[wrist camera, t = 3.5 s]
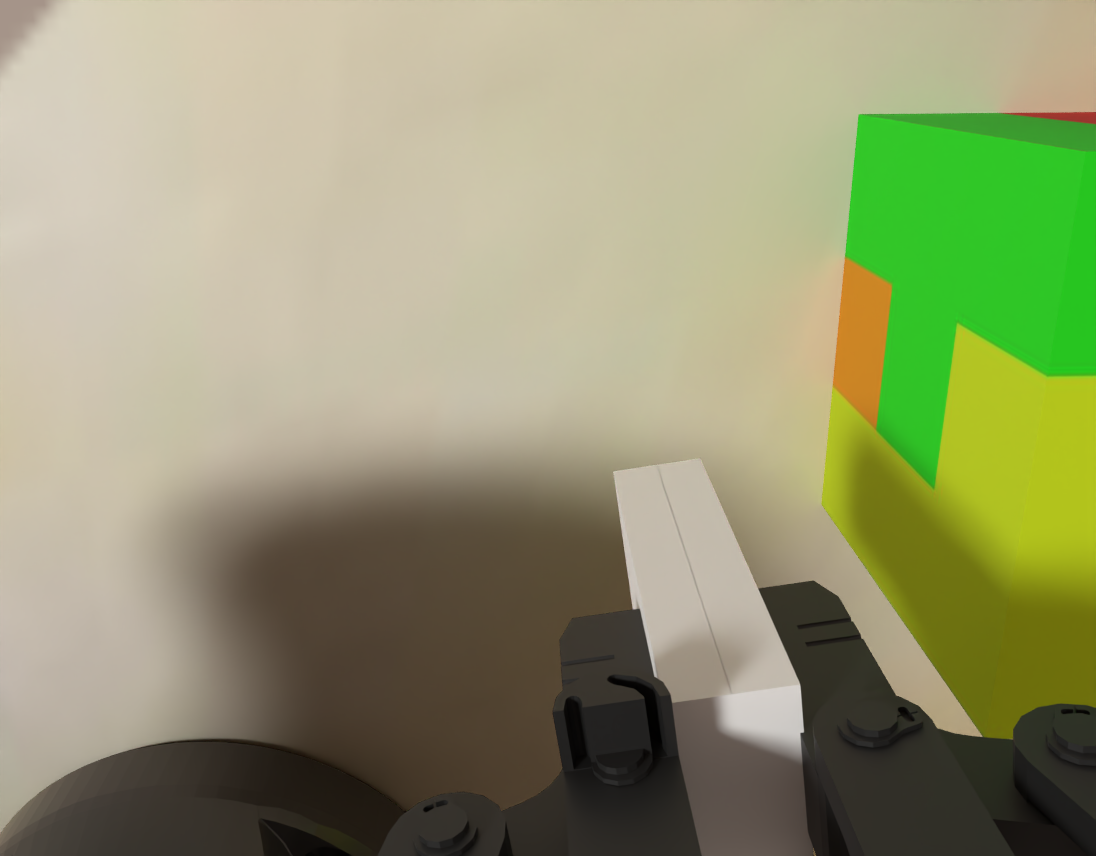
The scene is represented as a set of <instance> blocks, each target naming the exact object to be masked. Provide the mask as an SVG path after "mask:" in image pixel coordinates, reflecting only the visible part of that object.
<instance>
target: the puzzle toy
mask: <svg viewBox="0 0 1096 856" xmlns="http://www.w3.org/2000/svg"><path fill="white" fill-rule="evenodd" d="M822 506H823V507H824V509H825V510H826V512H827V513H828V515H829V516H830V517H831V519H832V520H833V522H834V523H835V525H836V526H837V527H838V529H839V530H840V532H841V533H842V535H843V536H844V538H845V539H846V540H847V542H848V543H849V545H850V546H851V548H852V549H853V550H854V552H855V553H856V555H857V556H858V558H859V559H860V561H861V562H862V563H863V565H864V566H865V568H866V569H867V571H868V572H869V574H870V575H871V576H872V578H873V579H874V581H875V582H876V584H877V585H878V586H879V588H880V589H881V591H882V592H883V594H884V595H885V597H886V598H887V599H888V601H889V602H890V604H891V605H892V607H893V608H894V609H895V611H896V612H897V614H898V615H899V617H900V618H901V620H902V621H903V622H904V624H905V625H906V627H907V628H908V630H909V631H910V633H911V634H912V635H913V637H914V638H915V640H916V641H917V643H918V644H919V645H920V647H921V648H922V650H923V651H924V653H925V654H926V656H927V657H928V658H929V660H930V661H931V663H932V664H933V666H934V667H935V669H936V670H937V671H938V673H939V674H940V676H941V677H942V679H943V680H944V681H945V683H946V684H947V686H948V687H949V689H950V690H951V692H952V693H953V694H954V696H955V697H956V699H957V700H958V702H959V703H960V704H961V706H962V707H963V709H964V710H965V712H966V713H967V715H968V716H969V717H970V719H971V720H972V722H973V723H974V725H975V726H976V728H977V729H978V730H979V732H980V733H981V735H982V736H983V737H988V738H1001V739H1013V729H1014V727H1015V725H1016V724H1017V722H1018V721H1019V719H1020V717H1021V716H1022V715H1024V714H1026V713H1028V712H1030V711H1032V710H1034V709H1035V708H1037V707H1042V706H1048V705H1054V704H1060V703H1062V704H1077V705H1088V706H1091V707H1095V708H1096V112H1074V113H960V114H859V117H858V128H857V138H856V149H855V159H854V169H853V180H852V190H851V201H850V211H849V222H848V232H847V243H846V253H845V264H844V274H843V285H842V295H841V305H840V316H839V326H838V337H837V347H836V358H835V368H834V379H833V389H832V400H831V410H830V420H829V431H828V441H827V452H826V462H825V473H824V483H823V494H822Z"/></svg>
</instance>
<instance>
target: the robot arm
mask: <svg viewBox="0 0 1096 856" xmlns="http://www.w3.org/2000/svg"><path fill="white" fill-rule="evenodd" d="M613 473H614V480H615V487H616V494H617V501H618V508H619V515H620V522H621V529H622V536H623V544H624V551H625V558H626V565H627V572H628V579H629V586H630V593H631V600H632V607H633V610H627V611H620V612H613V613H606V614H599V615H592V616H586V617H579V618H572V620H571V622H570V623H569V625H568V627H567V628H566V630H565V632H564V633H563V635H562V637H561V638H560V655H561V666H562V667H561V671H562V683H563V685H562V686H563V691H562V692H561V693H560V694H559V695H558V696H557V697H556V700H555V704H554V708H553V717H554V723H555V728H556V734H557V739H558V745H559V750H560V756H561V761H562V767H563V768H562V770H561V773H560V774H559V776H558V777H557V778H556V779H555V780H554V781H553V783H552V784H551V785H550V786H549V787H547V788H546V789H545V790H543V791H542V792H541V793H539V794H538V795H537V796H535V797H533V798H531V799H529V800H527V801H525V802H523V803H521V804H518V805H516V806H513V807H511V808H508V809H506V810H503V811H501V810H500V808H499V806H498V805H497V804H495V803H494V802H492V801H491V800H489V799H488V798H486V797H485V796H483V795H477V794H472V793H467V792H457V793H449V794H440V795H438V796H435V797H433V798H430V799H428V800H425V801H422V802H420V803H418V804H417V805H415V806H414V807H413V808H411V809H410V810H408V811H407V812H406V813H405V812H404V811H403V810H402V809H400V808H399V807H398V806H397V805H396V804H394V803H393V802H391V801H390V800H389V799H387V798H386V797H385V796H383V795H382V794H380V793H379V792H377V791H376V790H374V789H373V788H371V787H369V786H368V785H366V784H364V783H363V782H361V781H359V780H357V779H355V778H353V777H352V776H350V775H348V774H345V773H343V772H341V771H339V770H337V769H335V768H332V767H330V766H327V765H325V764H322V763H320V762H317V761H314V760H311V759H308V758H305V757H302V756H299V755H296V754H292V753H288V752H284V751H280V750H276V749H271V748H266V747H260V746H254V745H246V744H239V743H225V742H183V743H171V744H163V745H155V746H150V747H145V748H139V749H135V750H131V751H127V752H123V753H119V754H116V755H113V756H110V757H107V758H104V759H101V760H98V761H96V762H93V763H91V764H89V765H86V766H84V767H82V768H80V769H78V770H76V771H74V772H72V773H70V774H68V775H66V776H64V777H63V778H61V779H59V780H58V781H56V782H54V783H53V784H51V785H50V786H48V787H47V788H46V789H44V790H43V791H41V792H40V793H39V794H37V795H36V796H35V797H34V798H33V799H31V800H30V801H29V802H28V803H27V804H26V805H25V806H24V807H23V808H22V809H21V810H20V811H19V812H18V813H17V814H16V815H15V816H14V817H13V818H12V819H11V821H10V822H9V823H8V824H7V825H6V827H5V828H4V829H3V831H2V832H1V834H0V856H813V848H814V851H815V853H816V856H1096V708H1095V707H1091V706H1088V705H1077V704H1062V703H1060V704H1054V705H1048V706H1042V707H1037V708H1035V709H1034V710H1032V711H1030V712H1028V713H1026V714H1024V715H1022V716H1021V717H1020V719H1019V721H1018V722H1017V724H1016V725H1015V727H1014V729H1013V739H1001V738H988V737H975V736H968V735H961V734H954V733H951V732H948V731H944V730H941V729H938V728H937V727H936V726H935V724H934V723H933V721H932V719H931V718H930V717H929V716H928V715H927V714H926V713H925V712H924V711H923V710H922V709H921V708H920V707H919V706H918V705H916V704H914V703H911V702H909V701H907V700H905V699H903V698H901V697H899V696H896V695H895V693H894V691H893V689H892V688H891V686H890V684H889V683H888V681H887V679H886V677H885V676H884V674H883V672H882V671H881V669H880V667H879V665H878V664H877V662H876V660H875V659H874V657H873V655H872V653H871V652H870V650H869V648H868V647H867V645H866V643H865V641H864V640H863V639H861V635H860V633H859V631H858V629H857V628H856V626H855V624H854V623H853V622H851V617H850V616H849V614H848V612H847V611H846V609H845V607H844V605H843V604H842V602H841V600H840V599H839V597H838V596H837V595H835V594H833V593H832V592H830V591H829V590H827V589H826V588H824V587H823V586H821V585H819V584H818V583H816V582H815V581H808V582H801V583H794V584H787V585H780V586H773V587H767V588H760V589H758V588H757V585H756V583H755V581H754V578H753V576H752V574H751V572H750V569H749V567H748V565H747V563H746V560H745V558H744V556H743V554H742V551H741V549H740V547H739V544H738V542H737V540H736V538H735V535H734V533H733V531H732V529H731V526H730V524H729V522H728V520H727V517H726V515H725V513H724V511H723V508H722V506H721V504H720V501H719V499H718V497H717V495H716V492H715V490H714V488H713V486H712V483H711V481H710V479H709V477H708V474H707V472H706V470H705V467H704V465H703V463H702V461H701V458H698V459H691V460H684V461H678V462H671V463H665V464H658V465H651V466H645V467H638V468H631V469H625V470H618V471H613Z"/></svg>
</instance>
